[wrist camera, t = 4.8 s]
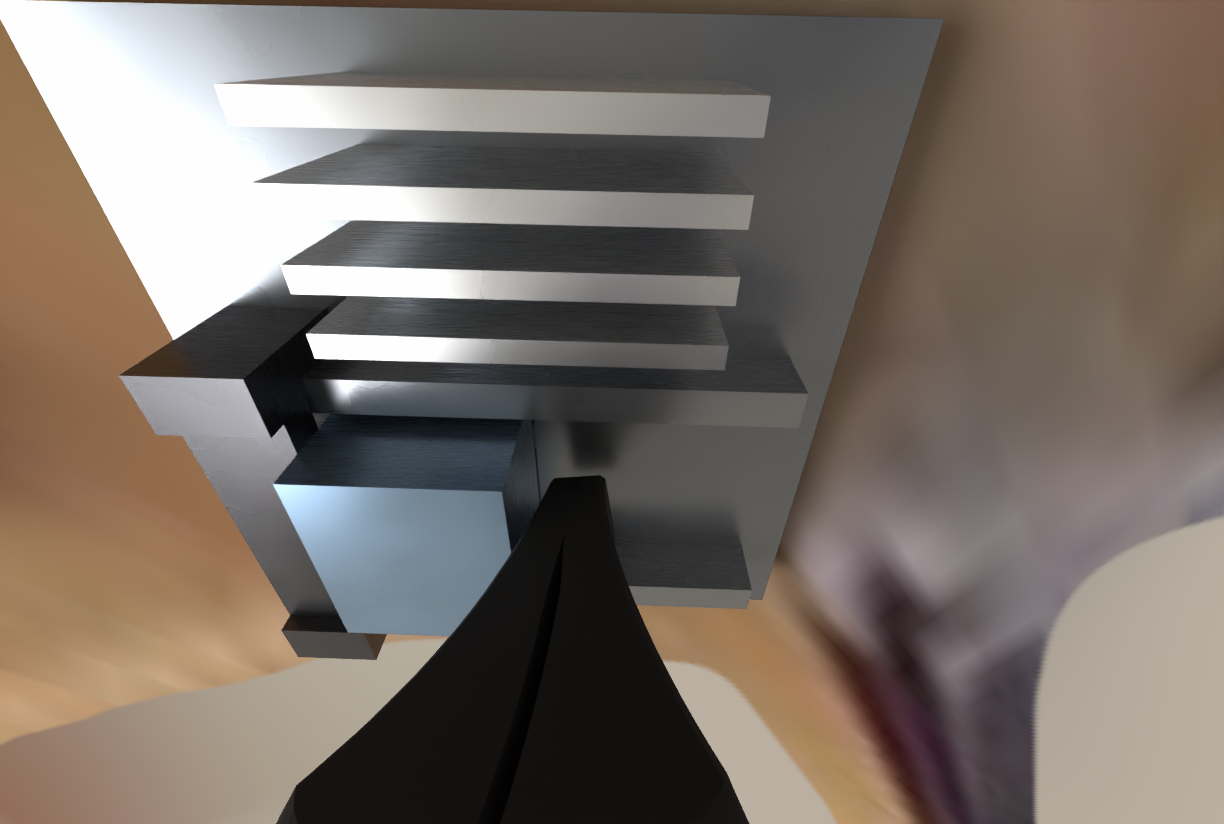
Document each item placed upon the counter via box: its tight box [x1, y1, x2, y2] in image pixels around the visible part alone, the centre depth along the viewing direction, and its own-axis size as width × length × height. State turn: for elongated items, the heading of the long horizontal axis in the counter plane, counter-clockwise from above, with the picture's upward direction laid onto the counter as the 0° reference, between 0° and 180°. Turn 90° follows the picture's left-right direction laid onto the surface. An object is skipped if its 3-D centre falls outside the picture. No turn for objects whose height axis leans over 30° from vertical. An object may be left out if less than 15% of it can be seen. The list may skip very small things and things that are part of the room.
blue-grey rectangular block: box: [273, 413, 540, 636], centre depth 11 cm, size 7×5×3 cm, turn 89°
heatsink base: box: [0, 0, 944, 660], centre depth 11 cm, size 14×14×4 cm
